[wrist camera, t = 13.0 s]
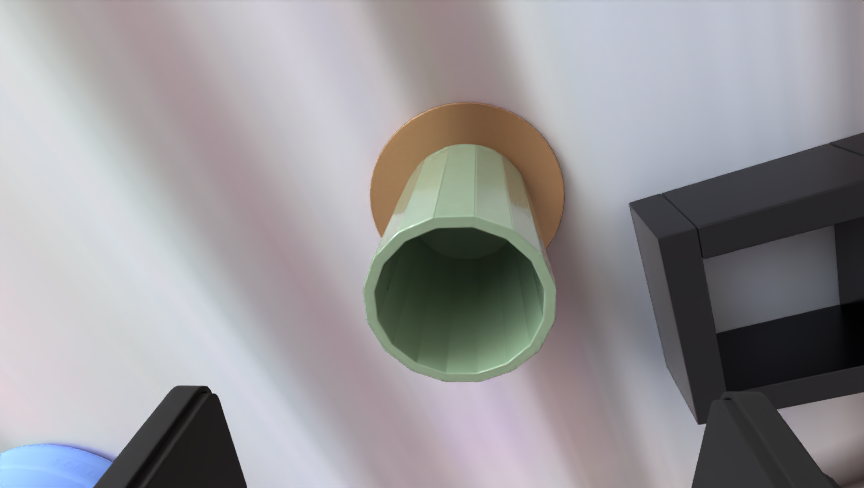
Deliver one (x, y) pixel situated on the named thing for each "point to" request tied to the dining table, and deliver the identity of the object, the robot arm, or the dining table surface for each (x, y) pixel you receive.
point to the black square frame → (745, 227)
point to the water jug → (50, 467)
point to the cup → (462, 270)
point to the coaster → (470, 128)
